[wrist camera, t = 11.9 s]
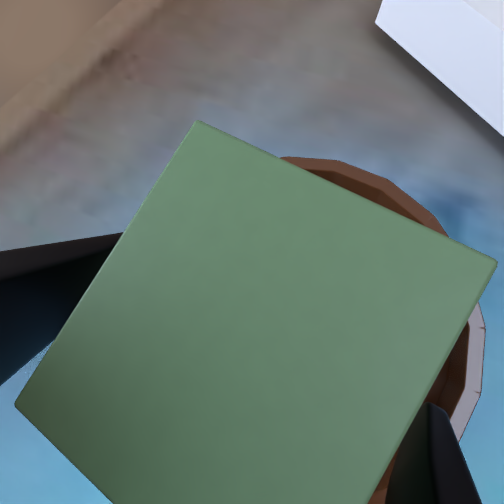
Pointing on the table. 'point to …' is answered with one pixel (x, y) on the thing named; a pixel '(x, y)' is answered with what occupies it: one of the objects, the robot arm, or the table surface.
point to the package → (252, 337)
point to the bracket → (455, 47)
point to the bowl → (473, 334)
